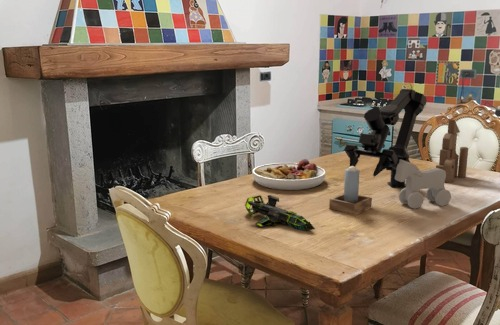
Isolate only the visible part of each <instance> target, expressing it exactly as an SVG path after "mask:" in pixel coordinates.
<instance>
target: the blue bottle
mask: <svg viewBox="0 0 500 325" xmlns="http://www.w3.org/2000/svg"><path fill="white" fill-rule="evenodd" d="M360 173H361V171H360V169H358V168H357V167H356V166H355V167H354V166H350V165H349V167H348V168H345V169H344V183H343V184H344V187H343V188H344V189H343V190H344V191H343V193H344V201H346V202H350V203H355V204H356V203H358V195H359V191H360V190H359V189H360V188H359V187H360V186H359V185H360Z"/></svg>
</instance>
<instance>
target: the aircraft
mask: <svg viewBox="0 0 500 325" xmlns="http://www.w3.org/2000/svg"><path fill="white" fill-rule="evenodd" d="M266 197H267V202H266V203H265V201H264V199H263V197H262V195H260V194H258V195H255V196H252V197H248V198H247V199H246V202H245V203H244V207H245V209H246V211H247V212H248V214H249V215H250V216H252V217H253V214H255V213H257V214H261V215H263V216H265V217H263V218H262V219H260V220H258V221H257V222H256V223H255V225H256V226H259V227H266V226H268V225H270V226H272V227H275V225H276V222H278V223H279V224H280V223H281V224H283V225H285V226H287V227H292V228H293V229H296V230H301V231H306V232H307V231H314V230H316V228H315V227H314V226H313V224H312V222H310V221H308V220H307V219H306V218H305V217H304V216H302V215H298V213H297V212H294V211H291V210H286V209H283V208H280V207H278V206H277V203H280V198H279V197H277V196H274V195H272V194H269V195H267V196H266Z"/></svg>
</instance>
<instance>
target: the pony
mask: <svg viewBox="0 0 500 325" xmlns="http://www.w3.org/2000/svg"><path fill="white" fill-rule="evenodd" d="M445 178H446V172H445V171H444V170H442V169H439V168H436V167H432V168H428V169H424V170H420V169H419V168H418V166H417V165H416V164H414V163H412V162H411V161H410V162H407V161H404V160H401V159H399V164H398V165H397V168H396V175H395V180H397V181H399V182H404V181H405V184H406V187H403V188H402V189H401V191H399V193H398V200H399V202H400V203H401V204H403V205H408V207H409V208H410V209H413V210H414V209H415V210H417V209H419V208H420V207H421V206H422V205H423V204H424V201H425V200H424V195H423V194H422V192H420V190H423V189H424V190H426V192H425V196H426V197H425V198H426V199H427V200H428V201H430V202H431V201H432V202H435V203H436V205H437V206H440V207H445V206H446V205H448V204H449V203H450V201H451V199H452V196H451V195H452V194H451V192H450V190H447V189H446V187H445V183H446V182H445ZM416 208H417V209H416Z"/></svg>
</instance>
